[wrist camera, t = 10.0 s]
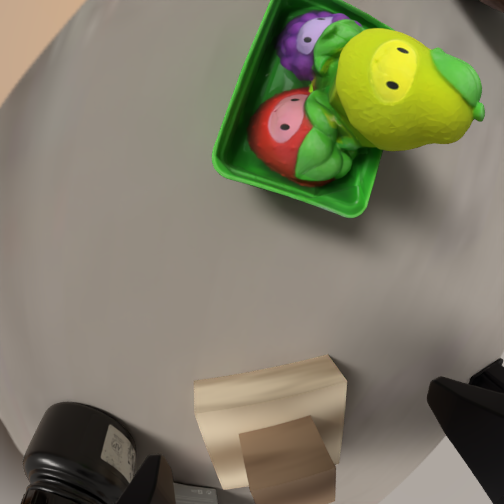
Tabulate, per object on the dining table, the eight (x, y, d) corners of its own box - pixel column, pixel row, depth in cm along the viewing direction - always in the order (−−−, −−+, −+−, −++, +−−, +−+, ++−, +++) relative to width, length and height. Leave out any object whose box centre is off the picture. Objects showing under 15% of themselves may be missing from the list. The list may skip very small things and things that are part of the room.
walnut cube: (314, 454, 20) (335, 501, 15) (251, 470, 19) (263, 520, 14) (310, 415, 19) (335, 467, 14) (238, 433, 18) (250, 491, 13)
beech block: (324, 434, 25) (339, 463, 21) (218, 457, 23) (223, 489, 20) (325, 351, 22) (347, 381, 18) (193, 377, 21) (194, 413, 17)
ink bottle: (128, 476, 22) (118, 574, 11) (46, 445, 20) (13, 535, 9) (147, 419, 21) (134, 549, 9) (46, 379, 19) (-13, 490, 7)
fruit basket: (261, 15, 15) (320, -101, 4) (379, 67, 17) (498, 16, 6) (204, 174, 17) (210, 166, 7) (339, 217, 19) (470, 263, 8)
